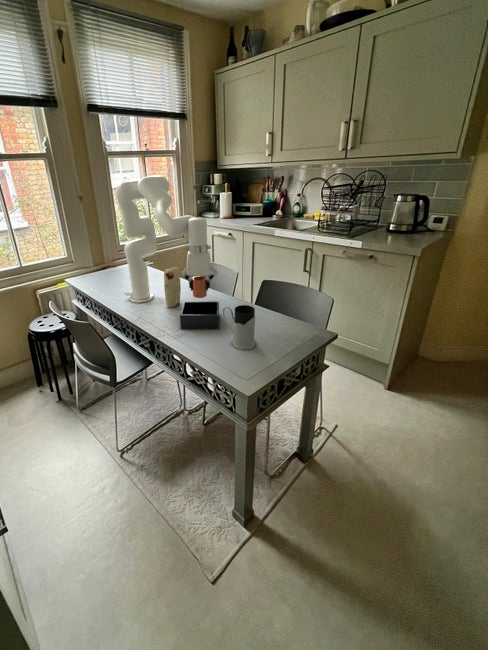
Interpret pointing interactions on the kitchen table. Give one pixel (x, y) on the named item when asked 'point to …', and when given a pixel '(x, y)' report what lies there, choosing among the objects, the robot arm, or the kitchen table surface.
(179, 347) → the kitchen table surface
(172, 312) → the kitchen table surface
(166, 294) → the food model
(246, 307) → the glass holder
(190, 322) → the black storage bin
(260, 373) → the kitchen table surface
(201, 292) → the cup
